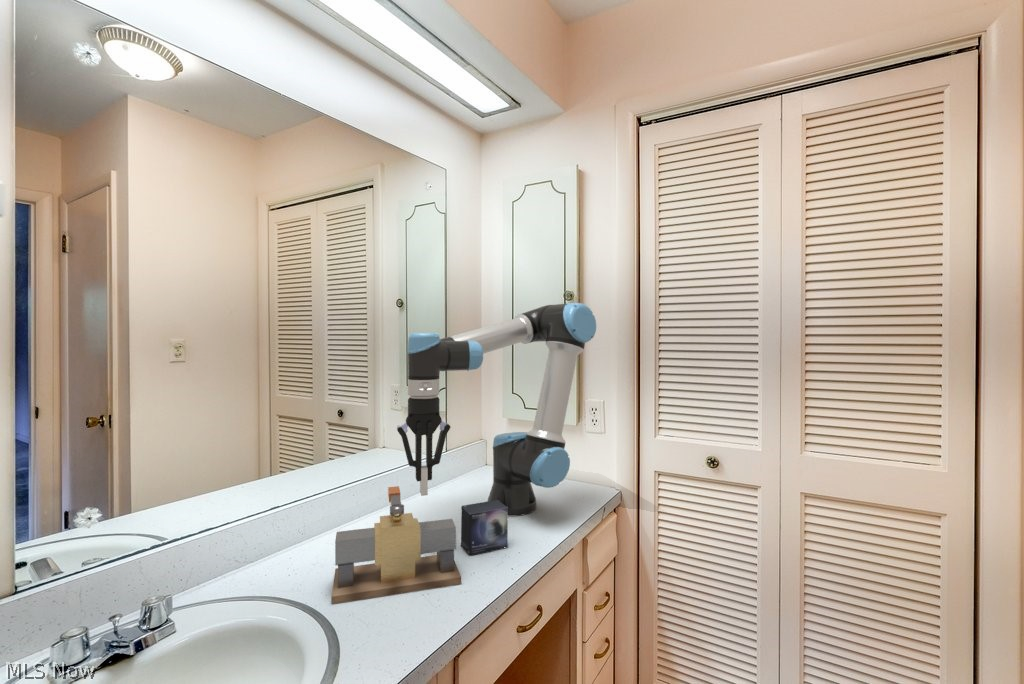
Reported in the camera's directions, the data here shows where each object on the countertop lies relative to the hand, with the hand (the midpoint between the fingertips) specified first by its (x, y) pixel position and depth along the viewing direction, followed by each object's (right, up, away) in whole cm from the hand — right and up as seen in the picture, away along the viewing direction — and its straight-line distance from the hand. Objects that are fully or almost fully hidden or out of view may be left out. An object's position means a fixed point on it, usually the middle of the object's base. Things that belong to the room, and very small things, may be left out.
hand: (423, 493), depth 115 cm
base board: (-4, -15, -12) cm, 19 cm away
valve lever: (-5, -1, -6) cm, 8 cm away
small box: (+14, -15, +5) cm, 21 cm away
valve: (-4, -14, -12) cm, 18 cm away
